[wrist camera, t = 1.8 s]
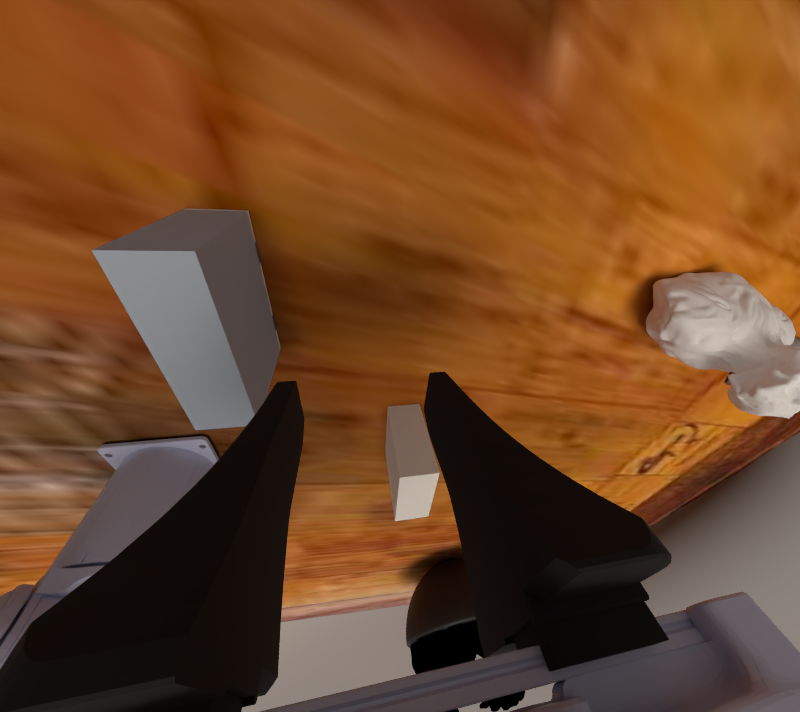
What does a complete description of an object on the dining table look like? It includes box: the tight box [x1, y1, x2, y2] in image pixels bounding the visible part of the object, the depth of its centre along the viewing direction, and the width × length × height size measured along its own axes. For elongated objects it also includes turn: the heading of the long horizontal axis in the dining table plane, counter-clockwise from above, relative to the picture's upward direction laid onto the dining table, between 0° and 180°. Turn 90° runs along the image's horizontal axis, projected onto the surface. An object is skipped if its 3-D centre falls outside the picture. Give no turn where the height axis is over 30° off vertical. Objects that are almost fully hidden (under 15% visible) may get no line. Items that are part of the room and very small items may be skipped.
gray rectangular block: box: [92, 208, 281, 430], centre depth 15 cm, size 9×3×7 cm, turn 176°
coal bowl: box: [406, 559, 525, 712], centre depth 48 cm, size 20×20×19 cm
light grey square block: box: [385, 404, 439, 521], centre depth 26 cm, size 7×3×7 cm, turn 176°
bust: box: [646, 272, 800, 419], centre depth 21 cm, size 12×8×11 cm
